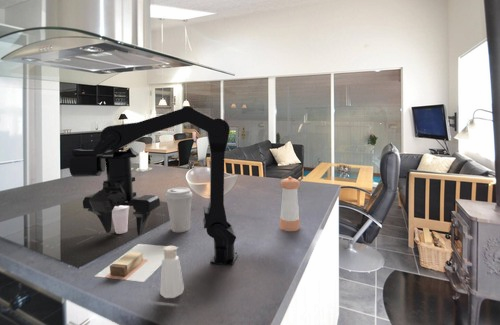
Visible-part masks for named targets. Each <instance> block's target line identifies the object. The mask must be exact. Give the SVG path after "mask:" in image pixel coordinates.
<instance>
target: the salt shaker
mask: <svg viewBox="0 0 500 325" xmlns="http://www.w3.org/2000/svg"><path fill="white" fill-rule="evenodd" d="M300 186H301V183H300V181H299V180H298V179H296V178H294V177H293V176H288V177H287V178H283V179H281V181H280V187H281V189H282V193H281V194H282V198H281V199H282V200H281V203H280V204H281V205H280V217H279V228H280V229H281V230H282V231H284V232H285V231H286V232H295V231H298V230H299V229H301V228H300V226H301V225H300V217H299V215H300V208H299V201H298V193H299V192H298V189H299V188H300Z"/></svg>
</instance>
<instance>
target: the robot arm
mask: <svg viewBox="0 0 500 325" xmlns="http://www.w3.org/2000/svg"><path fill="white" fill-rule="evenodd" d="M185 123H189V124H191V125H193V126H195V127H197V128H199V129H200V130H203V131H205V132H206V136H207V143H208V147H209V153H210V154H209V156H210V157H209V158H210V160H209V162H210V163H209V165H210V166H209V174H210V175H209V202H208V206H204V207H203V215H204V217H203V220H202V221H203V222H202V223H203V229H206V233H207V235H208V236H209V237H210V238H212V239H213V256H212V258H211V260H210V261H209V262H210V264H214V265H215V264H216V265H226V266H233V265H234V263H235V261H236V259H237V257H238V256H239V253H238V252H235V241H236V239H237V237H236V234H235V230H234V228H233V225H232V224H231V223H229V222H228V220H227V213H226V208H225V203H224V201H225V199H224V198H225V153H226V149H227V147H228V146H227V145H228V141H229V135H230V131H231V130H230V125H229V124H228V122H227V121H226V120H225V119H224V118H223V119H222V118H219V117H218V118H213V117H210V116H208V115H206V114H204V113H202V112H200V111H198V110H196V109H194V108H193V107H191V106H186V105H185V106H183V107H182V108H180V109H177V110H176V109H175V110H174V111H170V112H167V113H164V114H160V115H157V116H154V117H151V118H147V119H144V120H142V121H138V122H131V123H123V124H114V125H109V126H105V127H104V128H103V129H102V131H101V133H100V140H99V141H98V143H97V144H96V146H95V147H94V149H82V148H80V149H79V148H78V149H73V150H72V151H71V154H72V155H71V157H70V160H69V164H68V170H69V173H70V175H71V177H73V178H82V177H83V178H84V177H85V178H87V177H100V176H101V175H102V173H104V172H105V171H106V180H103V182H102V189H100V190H98V191H97V192H96V193H93V194H92V193H91V194H90V195H87V196H85V197H84V198H83V200H82V208H83V209H87V212H91V213H93V214H95V215H96V216H97V218H98V220H99V221H100V223H101V225H102V226H103V228H104V230H105V233H107V234H108V233H111V231H112V224H113V219H112V210H113V209H114V207H115V206H120V205H123V206H129V207H132V208H133V210H134V211H133V212H132V214H133V215H134V216H135V219H136V232H137V236H142V234H143V231H144V229H145V226H146V223H147V221H148V219H149V216H150V214H151V213H152V211H154V210H155V209H157V208H158V207H160V206H161V200H160V198H159V197H158V195H154V194H153V195H151V194H144V195H142V196H140V197H137V192H135V191H133V190H134V189H133V182H135V181H136V177H135V176H133V175H132V174H133V173H132V162H131V160H132V159H133V158H137V157H138V156H139V153H138V152H137V151H135V150H134V149H133V147H129V148H127V149H126V150H119V149H121V148H125V147H127V146H129V145H131V144H132V143H134V142H136V141H138V140H139V139H142V138H143V137H146V136H149V135H152V134H155V133H158V132H160V131H161V132H162V131H164V130H167V129H170V128H173V127H176V126H180V125H182V124H185ZM114 150H115V151H114ZM112 151H114V152H113V153H112V154H106V153H110V152H112ZM131 158H132V159H131ZM135 197H137V198H135Z"/></svg>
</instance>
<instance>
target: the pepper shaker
mask: <svg viewBox="0 0 500 325" xmlns="http://www.w3.org/2000/svg"><path fill="white" fill-rule="evenodd" d="M166 246H167V247H165V248H164V249H163V250H164V258H163V260H162V265H161V270H160V271H161V274H160V291H159V293H160V294H159V295H161V296H162V297H163V298H164V299H175V298H176V297H178V296H181V295H182V294H183V293H184V289H185V285H184V278H183V274H182V273H183V272H182V268H181V262H180V257H179V256H178V255H177V250H176V247H177V246H175V245H166Z"/></svg>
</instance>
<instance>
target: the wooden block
mask: <svg viewBox="0 0 500 325" xmlns="http://www.w3.org/2000/svg"><path fill="white" fill-rule="evenodd" d="M126 253H127V252H126ZM123 255H124V254H123ZM123 255H122V256H123ZM119 258H120V257H119ZM115 261H116V260H115ZM142 262H143V254H142V253H139V252H129V253H127V254H126V255H124V256H123V257H122V258H120V259H119V260H118V261H116V262H115V263H114V264H112V263H111V264H112V265H111V266H110V274H111V275H112V276H120V277H125V276H126V275H128V274H129V273H130V272H131V271H132V270H133V269H135V268H136V267H137V266H138V265H139V264H140V263H142Z"/></svg>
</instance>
